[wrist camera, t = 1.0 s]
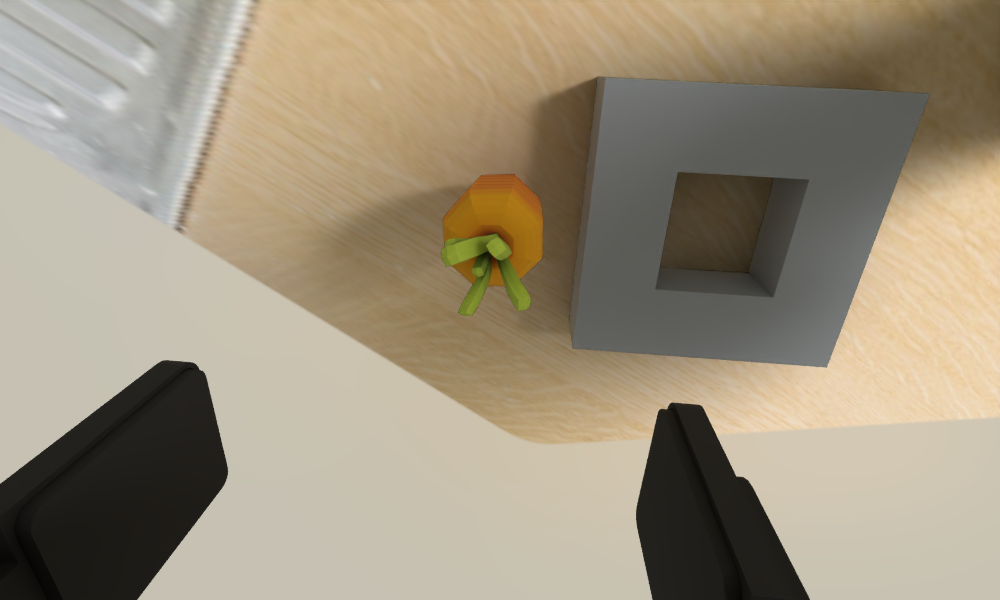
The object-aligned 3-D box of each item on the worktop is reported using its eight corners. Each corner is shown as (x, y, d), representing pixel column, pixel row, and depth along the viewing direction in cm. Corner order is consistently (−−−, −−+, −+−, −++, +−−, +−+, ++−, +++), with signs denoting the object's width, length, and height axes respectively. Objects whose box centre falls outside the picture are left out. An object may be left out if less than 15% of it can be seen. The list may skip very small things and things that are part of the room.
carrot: (556, 210, 33) (568, 310, 19) (487, 239, 34) (452, 353, 20) (526, 138, 31) (516, 191, 17) (454, 171, 32) (392, 244, 18)
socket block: (880, 90, 28) (930, 93, 25) (797, 336, 35) (826, 367, 31) (597, 76, 29) (605, 77, 25) (569, 320, 36) (572, 348, 32)
